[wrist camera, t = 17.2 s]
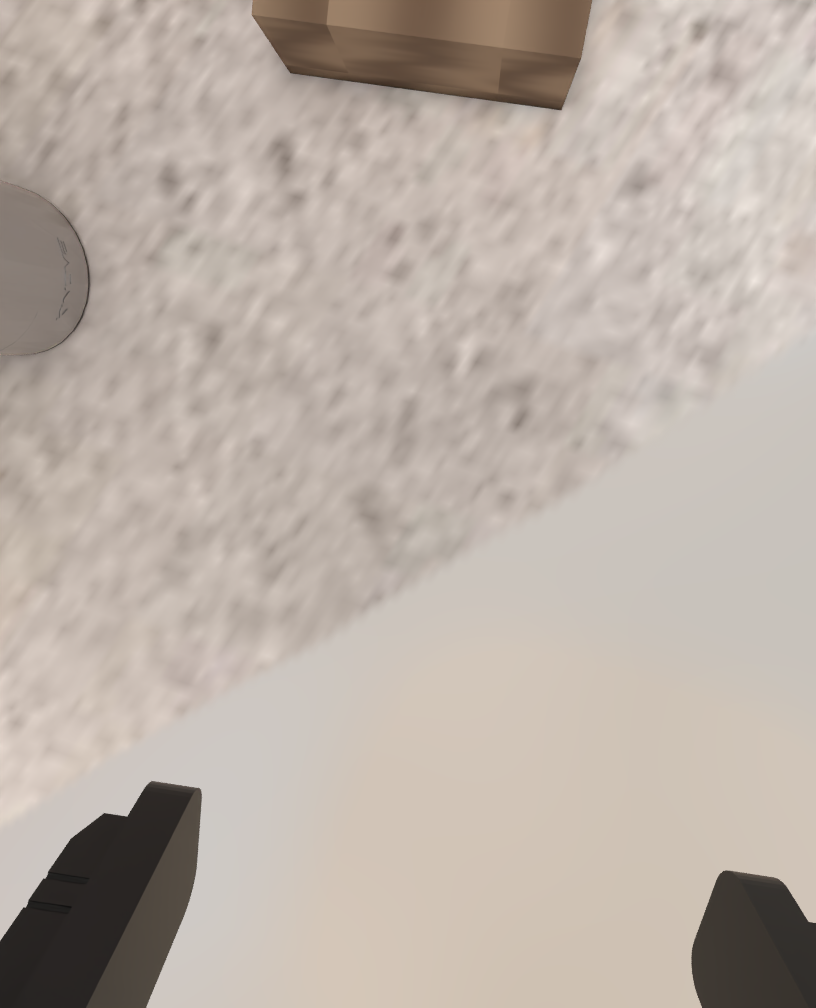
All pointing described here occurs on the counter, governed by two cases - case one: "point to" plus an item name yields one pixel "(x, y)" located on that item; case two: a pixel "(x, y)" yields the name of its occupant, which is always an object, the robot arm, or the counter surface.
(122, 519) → the counter surface
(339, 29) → the walnut holder block
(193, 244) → the counter surface
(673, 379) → the counter surface
